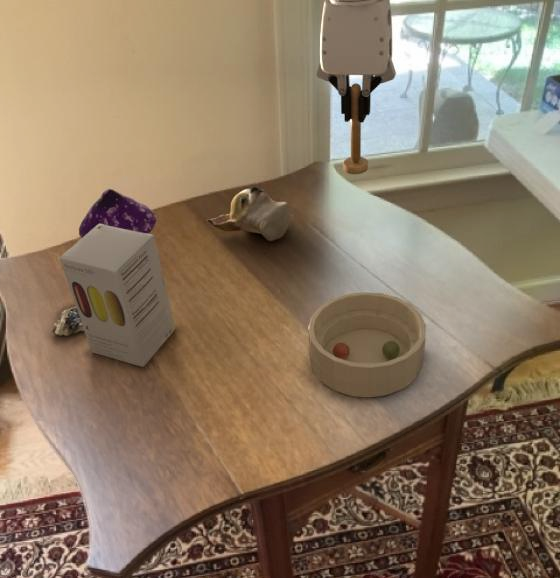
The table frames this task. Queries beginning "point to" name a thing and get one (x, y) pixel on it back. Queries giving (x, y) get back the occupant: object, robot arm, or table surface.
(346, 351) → the bead
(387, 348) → the bead
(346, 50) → the robot arm
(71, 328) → the white grey lumpy piece
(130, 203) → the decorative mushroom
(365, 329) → the bowl
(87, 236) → the supplement box
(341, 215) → the table surface
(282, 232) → the ceramic sculpture
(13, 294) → the table surface
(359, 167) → the wooden peg stand
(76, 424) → the table surface
